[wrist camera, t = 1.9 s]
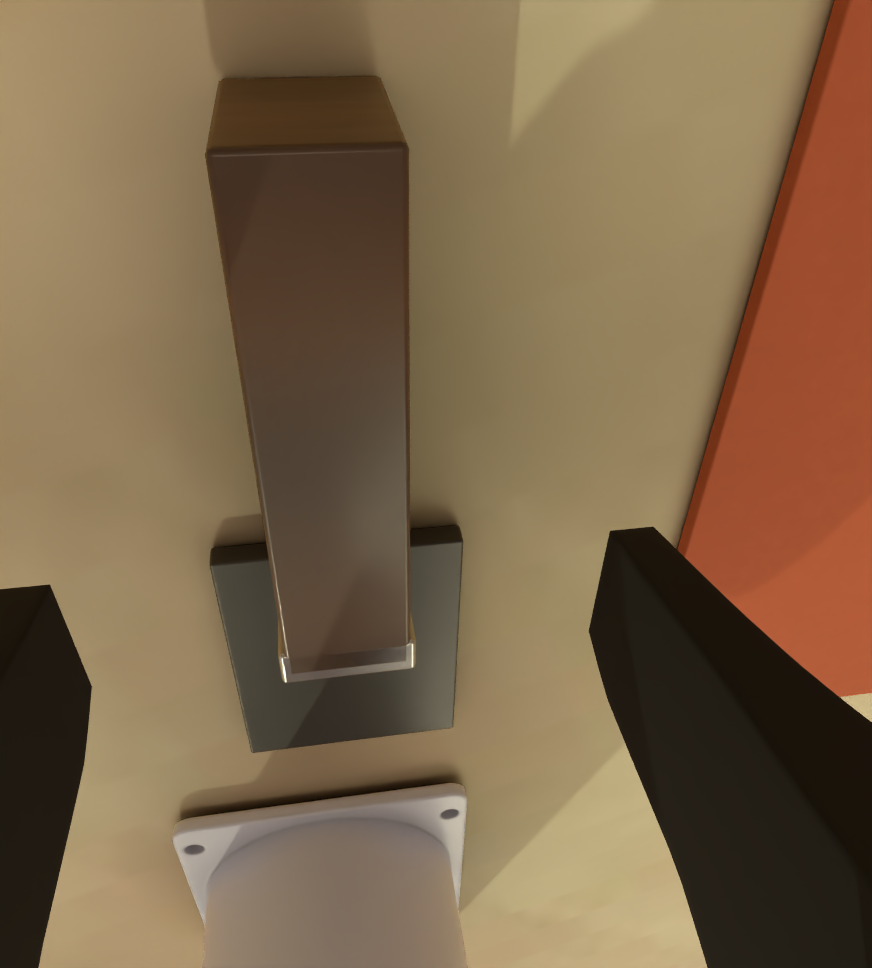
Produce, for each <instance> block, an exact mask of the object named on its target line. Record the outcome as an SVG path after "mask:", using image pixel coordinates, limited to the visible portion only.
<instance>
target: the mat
mask: <svg viewBox="0 0 872 968" xmlns="http://www.w3.org/2000/svg"><path fill="white" fill-rule="evenodd" d="M677 550H678V551H679V552H680V553H681V554H682V555H683V556H684V557H685V558H686V559H687V560H688V561H689V562H690V563H691V564H692V565H693V566H694V567H695V568H696V569H697V570H698V571H699V572H700V573H701V574H702V575H703V576H704V577H706V578H707V579H708V580H709V581H710V582H711V583H712V584H713V585H714V586H715V587H716V588H717V589H718V590H719V591H720V592H721V593H722V594H723V595H724V596H725V597H726V598H727V599H728V600H729V601H730V602H732V603H733V604H734V605H735V606H736V607H737V608H738V609H739V610H740V611H741V612H742V613H743V614H744V615H745V616H746V617H747V618H749V619H750V620H751V621H752V622H753V623H754V624H755V625H756V626H757V627H759V628H760V629H761V630H762V631H763V632H764V633H765V634H766V635H767V636H768V637H770V638H771V639H772V640H773V641H774V642H775V643H776V644H777V645H778V646H779V647H781V648H782V649H783V650H784V651H785V652H786V653H787V654H788V655H790V656H791V657H792V658H793V659H794V660H795V661H796V662H798V663H799V664H800V665H801V666H802V667H803V668H805V669H806V670H807V671H808V672H809V673H811V674H812V675H813V676H814V677H816V678H817V679H818V680H819V681H820V682H822V683H823V684H824V685H825V686H826V687H828V688H829V689H830V690H831V691H833V692H834V693H835V694H836V695H837V696H839V697H842V696H850V695H858V694H866V693H872V0H835V1H834V5H833V8H832V12H831V15H830V19H829V22H828V26H827V29H826V33H825V36H824V40H823V43H822V47H821V50H820V54H819V57H818V60H817V64H816V67H815V71H814V74H813V78H812V81H811V85H810V88H809V92H808V95H807V99H806V102H805V106H804V109H803V113H802V116H801V120H800V123H799V127H798V130H797V134H796V137H795V141H794V144H793V148H792V151H791V155H790V158H789V162H788V165H787V169H786V172H785V176H784V179H783V183H782V186H781V190H780V193H779V197H778V200H777V204H776V207H775V211H774V214H773V218H772V221H771V225H770V228H769V232H768V235H767V239H766V242H765V246H764V249H763V252H762V256H761V259H760V263H759V266H758V270H757V273H756V277H755V280H754V284H753V287H752V291H751V294H750V298H749V301H748V305H747V308H746V312H745V315H744V319H743V322H742V326H741V329H740V333H739V336H738V340H737V343H736V347H735V350H734V354H733V357H732V361H731V364H730V368H729V371H728V375H727V378H726V382H725V385H724V389H723V392H722V396H721V399H720V403H719V406H718V410H717V413H716V417H715V420H714V424H713V427H712V431H711V434H710V437H709V441H708V444H707V448H706V451H705V455H704V458H703V462H702V465H701V469H700V472H699V476H698V479H697V483H696V486H695V490H694V493H693V497H692V500H691V504H690V507H689V511H688V514H687V518H686V521H685V525H684V528H683V532H682V535H681V539H680V542H679V546H678V549H677Z"/></svg>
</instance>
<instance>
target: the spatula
mask: <svg viewBox="0 0 872 968" xmlns="http://www.w3.org/2000/svg"><path fill="white" fill-rule="evenodd" d="M205 157H206V164H207V170H208V176H209V183H210V189H211V195H212V202H213V208H214V215H215V221H216V227H217V234H218V240H219V246H220V253H221V259H222V265H223V272H224V278H225V284H226V291H227V297H228V303H229V310H230V316H231V322H232V329H233V335H234V341H235V348H236V354H237V361H238V367H239V373H240V380H241V386H242V392H243V399H244V405H245V411H246V418H247V424H248V430H249V437H250V443H251V449H252V456H253V462H254V468H255V475H256V481H257V487H258V494H259V500H260V507H261V513H262V519H263V526H264V532H265V538H266V543H263V544H252V545H241V546H230V547H219V548H212V549H211V553H210V569H211V574H212V578H213V583H214V587H215V592H216V596H217V601H218V605H219V610H220V614H221V619H222V623H223V627H224V632H225V636H226V641H227V645H228V650H229V654H230V659H231V663H232V668H233V672H234V677H235V681H236V686H237V690H238V694H239V699H240V703H241V708H242V712H243V717H244V721H245V726H246V730H247V735H248V739H249V744H250V748H251V752H252V753H256V752H264V751H272V750H280V749H288V748H296V747H304V746H311V745H319V744H327V743H335V742H343V741H351V740H359V739H367V738H375V737H383V736H391V735H399V734H407V733H415V732H423V731H431V730H439V729H447V728H452V727H453V720H454V702H455V683H456V665H457V646H458V628H459V609H460V590H461V572H462V553H463V538H462V534H461V531H460V527H459V526H446V527H435V528H424V529H413V530H410V350H409V148H408V145H407V143H406V140H405V138H404V135H403V133H402V131H401V128H400V126H399V123H398V121H397V118H396V116H395V113H394V111H393V108H392V106H391V103H390V101H389V99H388V96H387V94H386V91H385V89H384V86H383V84H382V81H381V79H380V78H379V77H376V76H357V77H306V78H254V79H223V80H221V81H219V84H218V89H217V94H216V99H215V105H214V110H213V116H212V121H211V126H210V132H209V137H208V142H207V148H206V153H205Z"/></svg>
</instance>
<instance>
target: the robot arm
mask: <svg viewBox="0 0 872 968" xmlns="http://www.w3.org/2000/svg"><path fill="white" fill-rule="evenodd" d="M589 633H590V637H591V641H592V644H593V648H594V652H595V656H596V660H597V664H598V667H599V671H600V674H601V678H602V681H603V685H604V688H605V692H606V695H607V699H608V701H609V704H610V706H611V709H612V711H613V714H614V716H615V719H616V721H617V724H618V726H619V729H620V731H621V734H622V736H623V739H624V741H625V743H626V746H627V748H628V751H629V753H630V756H631V758H632V760H633V763H634V765H635V768H636V770H637V773H638V775H639V777H640V780H641V782H642V785H643V787H644V789H645V792H646V794H647V797H648V799H649V801H650V804H651V806H652V809H653V811H654V813H655V816H656V818H657V821H658V823H659V826H660V828H661V830H662V833H663V835H664V838H665V840H666V842H667V845H668V847H669V850H670V852H671V855H672V858H673V861H674V863H675V866H676V869H677V871H678V874H679V877H680V880H681V882H682V885H683V889H684V892H685V895H686V898H687V902H688V905H689V908H690V911H691V915H692V918H693V921H694V924H695V928H696V931H697V934H698V937H699V941H700V944H701V947H702V950H703V954H704V957H705V960H706V964H707V967H708V968H872V722H870V721H869V720H868V719H866V718H865V717H864V716H863V715H861V714H860V713H859V712H857V711H856V710H855V709H854V708H852V707H851V706H850V705H848V704H847V703H846V702H845V701H843V700H842V699H841V698H840V697H839V696H837V695H836V694H835V693H834V692H833V691H831V690H830V689H829V688H828V687H826V686H825V685H824V684H823V683H822V682H820V681H819V680H818V679H817V678H816V677H814V676H813V675H812V674H811V673H809V672H808V671H807V670H806V669H805V668H803V667H802V666H801V665H800V664H799V663H798V662H796V661H795V660H794V659H793V658H792V657H791V656H790V655H788V654H787V653H786V652H785V651H784V650H783V649H782V648H781V647H779V646H778V645H777V644H776V643H775V642H774V641H773V640H772V639H771V638H770V637H768V636H767V635H766V634H765V633H764V632H763V631H762V630H761V629H760V628H759V627H757V626H756V625H755V624H754V623H753V622H752V621H751V620H750V619H749V618H747V617H746V616H745V615H744V614H743V613H742V612H741V611H740V610H739V609H738V608H737V607H736V606H735V605H734V604H733V603H732V602H730V601H729V600H728V599H727V598H726V597H725V596H724V595H723V594H722V593H721V592H720V591H719V590H718V589H717V588H716V587H715V586H714V585H713V584H712V583H711V582H710V581H709V580H708V579H707V578H706V577H704V576H703V575H702V574H701V573H700V572H699V571H698V570H697V569H696V568H695V567H694V566H693V565H692V564H691V563H690V562H689V561H688V560H687V559H686V558H685V557H684V556H683V555H682V554H681V553H680V552H679V551H678V550H677V549H676V548H675V547H674V546H673V545H672V544H671V543H669V542H668V541H667V540H666V539H665V538H664V537H663V536H662V535H661V534H660V533H659V532H658V531H657V530H656V529H655V528H654V527H646V528H635V529H625V530H615V531H610V533H609V538H608V543H607V547H606V552H605V557H604V562H603V566H602V571H601V576H600V580H599V585H598V590H597V595H596V599H595V604H594V609H593V614H592V618H591V623H590V628H589ZM91 689H92V686H91V683H90V681H89V679H88V676H87V674H86V671H85V669H84V666H83V664H82V662H81V659H80V657H79V654H78V652H77V649H76V647H75V645H74V642H73V640H72V637H71V635H70V632H69V630H68V628H67V625H66V623H65V620H64V618H63V615H62V613H61V610H60V608H59V606H58V603H57V601H56V598H55V596H54V593H53V591H52V589H51V586H50V585H41V586H31V587H20V588H10V589H0V968H38V967H39V962H40V957H41V951H42V946H43V941H44V937H45V933H46V928H47V924H48V920H49V915H50V911H51V907H52V902H53V898H54V894H55V890H56V885H57V881H58V877H59V872H60V868H61V864H62V859H63V855H64V851H65V846H66V842H67V838H68V834H69V829H70V825H71V820H72V816H73V812H74V807H75V803H76V798H77V794H78V789H79V785H80V780H81V776H82V771H83V766H84V760H85V751H86V742H87V733H88V723H89V712H90V700H91ZM466 813H467V796H466V791H465V787H463V786H462V785H460V784H457V783H444V784H437V785H430V786H422V787H415V788H407V789H400V790H392V791H385V792H377V793H370V794H363V795H355V796H348V797H340V798H333V799H325V800H318V801H311V802H303V803H296V804H288V805H281V806H273V807H266V808H259V809H251V810H244V811H236V812H229V813H221V814H214V815H206V816H199V817H192V818H187V819H183V820H181V821H179V822H178V823H176V824H175V826H174V827H173V838H172V842H173V844H174V847H175V850H176V852H177V855H178V857H179V860H180V863H181V865H182V868H183V871H184V873H185V876H186V878H187V881H188V884H189V886H190V889H191V892H192V894H193V897H194V900H195V902H196V905H197V907H198V910H199V913H200V915H201V918H202V921H203V923H204V926H205V935H204V952H203V968H468V965H467V959H466V953H465V947H464V941H463V936H462V930H461V924H460V918H459V912H458V911H459V899H460V887H461V874H462V862H463V850H464V837H465V825H466Z"/></svg>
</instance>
